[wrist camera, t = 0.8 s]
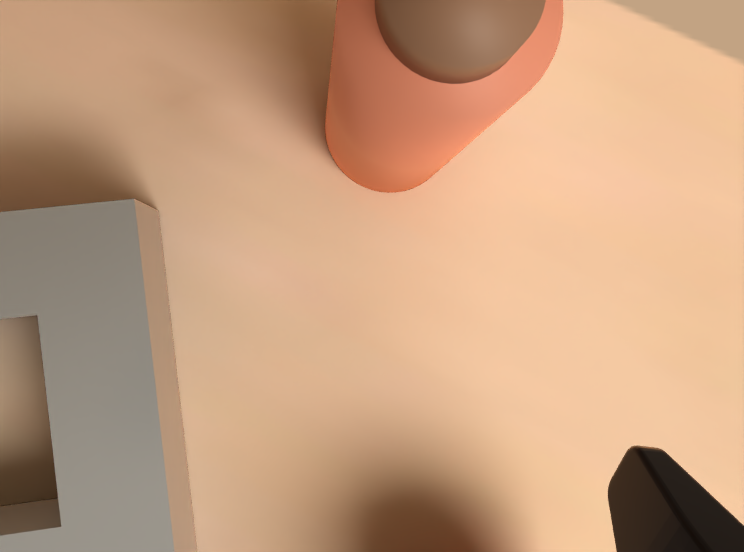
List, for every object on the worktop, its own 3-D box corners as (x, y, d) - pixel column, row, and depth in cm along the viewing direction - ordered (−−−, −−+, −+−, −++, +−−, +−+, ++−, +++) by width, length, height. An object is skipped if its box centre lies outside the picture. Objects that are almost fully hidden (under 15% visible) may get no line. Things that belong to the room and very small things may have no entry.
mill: (458, 185, 23) (597, 94, 12) (332, 198, 22) (355, 116, 11) (444, 60, 23) (570, -149, 12) (318, 70, 22) (326, -136, 11)
